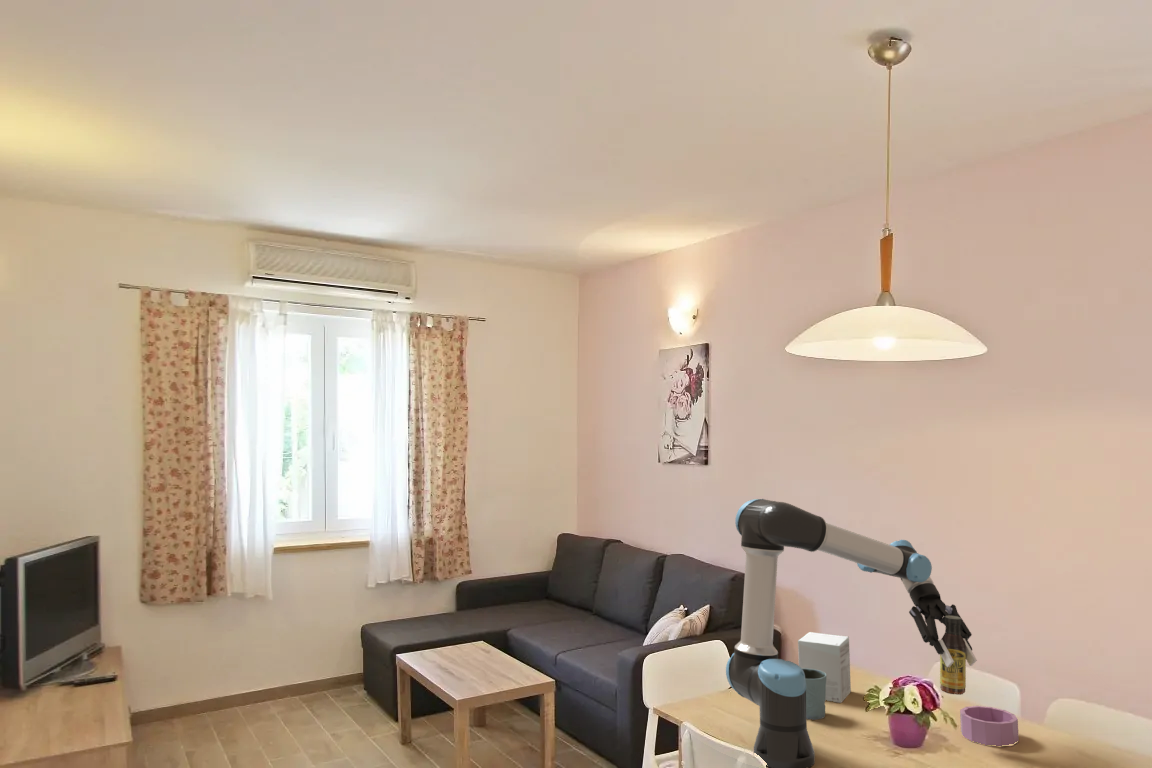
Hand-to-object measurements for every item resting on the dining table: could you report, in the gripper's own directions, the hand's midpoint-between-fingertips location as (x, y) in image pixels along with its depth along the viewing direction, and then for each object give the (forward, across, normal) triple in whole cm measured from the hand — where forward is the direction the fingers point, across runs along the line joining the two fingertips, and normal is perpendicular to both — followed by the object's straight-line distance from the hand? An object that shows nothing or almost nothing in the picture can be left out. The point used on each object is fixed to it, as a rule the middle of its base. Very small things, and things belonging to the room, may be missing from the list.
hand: (961, 663), depth 210 cm
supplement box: (-18, +13, -50) cm, 55 cm away
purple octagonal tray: (+12, -12, -19) cm, 25 cm away
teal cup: (-7, +27, -38) cm, 48 cm away
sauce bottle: (+4, 0, -9) cm, 9 cm away
